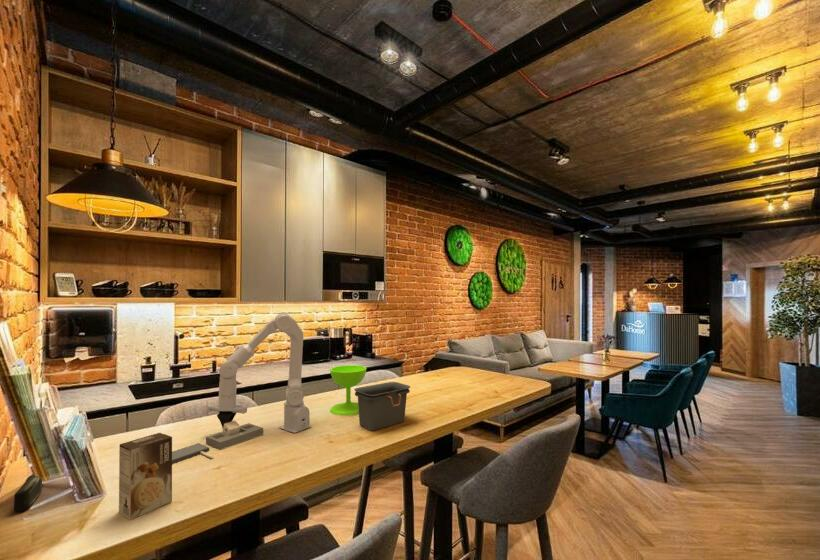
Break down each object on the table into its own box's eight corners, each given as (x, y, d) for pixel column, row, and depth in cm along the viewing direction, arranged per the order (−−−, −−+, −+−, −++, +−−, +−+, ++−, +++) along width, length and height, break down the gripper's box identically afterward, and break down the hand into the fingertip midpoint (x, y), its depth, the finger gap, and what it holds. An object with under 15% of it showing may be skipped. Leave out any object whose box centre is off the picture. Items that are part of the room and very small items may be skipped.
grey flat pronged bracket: (220, 456, 118) (220, 452, 118) (176, 472, 108) (176, 468, 108) (198, 446, 126) (198, 442, 126) (155, 460, 115) (155, 456, 115)
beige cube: (238, 437, 134) (240, 426, 133) (226, 441, 131) (229, 430, 130) (232, 431, 136) (235, 420, 136) (221, 434, 133) (223, 423, 132)
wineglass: (350, 417, 155) (350, 374, 155) (322, 411, 163) (322, 370, 164) (373, 407, 168) (373, 367, 169) (346, 402, 177) (346, 364, 177)
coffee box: (159, 494, 96) (161, 431, 96) (172, 501, 92) (173, 436, 93) (117, 512, 88) (118, 443, 89) (129, 521, 85) (131, 449, 85)
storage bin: (392, 413, 160) (392, 380, 160) (417, 423, 148) (417, 386, 148) (350, 425, 145) (350, 388, 146) (374, 437, 134) (374, 396, 134)
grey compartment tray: (263, 434, 136) (263, 427, 137) (220, 449, 123) (220, 442, 123) (248, 429, 141) (248, 422, 142) (205, 443, 128) (206, 436, 128)
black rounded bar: (10, 515, 87) (33, 488, 100) (28, 511, 88) (49, 485, 101) (11, 493, 87) (34, 469, 100) (29, 489, 89) (49, 466, 101)
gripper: (252, 392, 139) (251, 429, 138) (216, 390, 141) (215, 427, 140) (241, 397, 132) (239, 436, 131) (203, 395, 134) (202, 433, 133)
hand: (226, 432), depth 135 cm, fingers closed, pressing on beige cube
